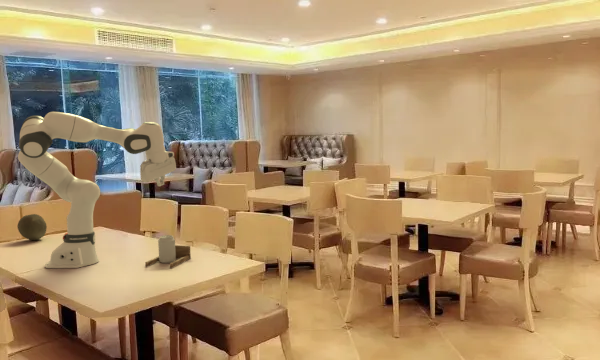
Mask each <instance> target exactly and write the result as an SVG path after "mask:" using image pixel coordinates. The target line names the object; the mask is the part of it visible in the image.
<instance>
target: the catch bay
mask: <svg viewBox="0 0 600 360" xmlns="http://www.w3.org/2000/svg"><path fill="white" fill-rule="evenodd" d="M175 252H176V260H175V261H174V262H172V263H169V268H171V269H173V268H174V267H176V266H179V265H180V264H182V263H184V262H186V261H188V260H190V259H192V257H191V245H181V244H179V245H177V244H175ZM158 262H160V261H159V255H158V256H156V257H154V258H151V259H150V260H147V261H145V262H144V263H145V264H144V265H145V267H149V266H151V265H154V264H156V263H158Z"/></svg>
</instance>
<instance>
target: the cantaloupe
mask: <svg viewBox="0 0 600 360" xmlns="http://www.w3.org/2000/svg"><path fill="white" fill-rule="evenodd" d="M47 227H48V226H47V223H46V221H45V219H44V218H43V217H42V216H41V215H39V214H36V213H32V214H26V215H24V216H22V217H21V218H20V219H19V220H18V223H17V230H18V233H19V234H20V235H21V236H22V237H24V238H25V239H27V240H30V241H39V240H40V239H42V238H43V237H44V236H45V235H46V232H47V229H48V228H47Z"/></svg>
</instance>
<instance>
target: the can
mask: <svg viewBox="0 0 600 360" xmlns="http://www.w3.org/2000/svg"><path fill="white" fill-rule="evenodd" d="M157 242H158V246H157V247H158V256H159V261H158V262H160V263H161V264H170V263H172V262H174V261H176V260H177V258H176V252H175V245H176V239H175V238H174V235H170V234H168V235H166V234H165V235H161V236H159V238H158V240H157Z"/></svg>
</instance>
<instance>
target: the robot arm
mask: <svg viewBox="0 0 600 360" xmlns="http://www.w3.org/2000/svg"><path fill="white" fill-rule="evenodd" d="M164 138H165V137H164V133H163V130H162V126H161V125H160V124H159V123H157V122H155V121H145V122H143V123H142V124H141V125H140V126H139V127H137V128H131V127H129V128H123V129H121V128H120V129H118V128H115V127H109V126H105V125H102V124H99V123H96V122H95V121H92V120H91V119H89V118H86V117H83V116H80V115H77V114H73V113H68V112H60V111H50V112H48V113H46V114H45V116H44V117H42V116H41V115H30V116H28V117H26V119H24V121H23V122H22V125H21V128H20V131H19V142H18V146H19V150H20V151H19V152H18V155H17V159H18V161H19V163H20V164H21V165H22V166H23V167H24V168H25V169H26V170H28V172H30V173H31V174H33V176H35V177H36V178H38V179H39V181H40V180H41V181H42V182H43V183H45V184H46V185H48V187H50V188H51V189H52V190H53V191H54V192H55V194H57V195H58V197H59V198H60V199H62V200H64V201H65V202H68V203H70V209H69V213H68V214H67V216H66V228H67V230H66V231H67V232H66V233H64V234H63V236H62V240H63V241H62V243H61V244H59V245H58V246H57V247H56V248H55V249H54V250H53V251H52V253H51V255H50V260H49V261H48V262H45V265H44V267H45V268H46V269H78V268H81V267H82V268H83V267H86V266H90V265H94V264H97V263H99V260H100V259H99V257H98V253H97V250H96V233H95V230H94V211H95V205H96V203H97V200H98V199H99V198H100V196H101V189H100V187H99V185H98V184H97V183H95V182H94V181H91V180H89V179H83V178H82V179H81V178H78V177H76V176H74V174H72V173H71V172H70V170H69V168H68V167H67V166H66V165H65V164H64V163H63V162H62V161H60V160H59V159H57V158H56V157H55V156H53V155H52V154H51V153H49V152H48V150H49V148H50V147H51V145H52V144H53V140H54V139H62V140H66V141H70V142H75V143H88V142H91V141H94V140H101V141H105V142H111V143H115V144H117V145H120V146H121V147H122V148H123V149H124V150H125V151H126V152H128V153H129V154H132V155H137V154H141V153H143V152H145V157H146V160H143V161H142V162H141V163H140V167H139V168H140V169H139V170H140V171H139V172H140V173H139V174H140V181H142V182H144V183H149V182H151V181H153V180H154V181H155V182H156V186H157V187H161V186H163V185H165V179H166V175H168V174H171V173H172V172H175V171H176V170H177V163H176V159H175V152H173V151H167V150H166V147H165V145H164V142H165V141H164Z"/></svg>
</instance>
